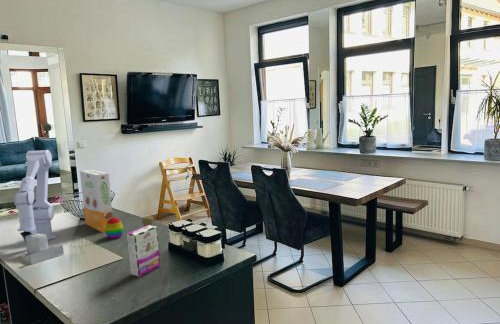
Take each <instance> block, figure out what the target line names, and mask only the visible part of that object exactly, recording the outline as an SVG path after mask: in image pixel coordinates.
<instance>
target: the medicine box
mask: <svg viewBox="0 0 500 324" xmlns="http://www.w3.org/2000/svg"><path fill="white" fill-rule="evenodd" d="M25 240H26V243H25V245H26V251H27V252H26V254H28V255H29V254H32V253H36V252H39V251H42V250H46V249H49V244H48V243H49V242H48V240H47V235H46V234H34V235H31V234H30V235H27V236H25ZM25 240H24V241H25Z"/></svg>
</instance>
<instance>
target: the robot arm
mask: <svg viewBox="0 0 500 324" xmlns="http://www.w3.org/2000/svg"><path fill="white" fill-rule="evenodd" d="M25 158H26V159H25V160H26V162H27V169H26V174H25V177H23V178H22V179H21V183H20V186H19V189H18V191H17V193H15V194H14V196H13V203H14V205H15V208H16V210H17V212H18V213H17V214H18V219H19V220H18V221H19V228H17V232H19V234H20V236H21V237H22V238H23V240H24V242H25V244H26V240H25V236H27V235H30V234H31V235H34V234H46V235H47V241H50V240H53V239H56V238H57V236H55V235H53V229H52V221H53V219H54V218H55V217H54V216H55V210H54V205H53V204H52V203H51V202H49V201H48V195H49V194H48V192H49V191H48V190H49V189H48V188H49V170H50V168H51V167H52V164H53V156H52V153H51V151H50V150H49V149H45V150H27V152H26V153H25ZM35 177H36V178H35ZM35 187H36V188H35Z"/></svg>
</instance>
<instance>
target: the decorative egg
mask: <svg viewBox="0 0 500 324" xmlns="http://www.w3.org/2000/svg"><path fill="white" fill-rule="evenodd" d="M123 233H124V226H123V223H122V222H121V220H120V219H119V218H118V217H115V216H114V217H112V218H110V219H109V221H108V222H107V224H106V232H105V234H106V236H107V237H108V239H111V240H115V239H118V238H120V237H122V236H123Z"/></svg>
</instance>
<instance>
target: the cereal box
mask: <svg viewBox="0 0 500 324" xmlns="http://www.w3.org/2000/svg"><path fill="white" fill-rule="evenodd" d="M79 176H80V185H81V194H82V203H83V212H84V213H83V214H84V221H85V225H86V226H89V227H90V228H92V229H95V230H97V231H98V232H99V233H100V232H101V233H106V224H107V222H108V221H109V219H110V218H112V217H113V207H112V206H113V205H112V195H111V185H110V174H109V172H105V171H100V170H96V169H85V170H79Z"/></svg>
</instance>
